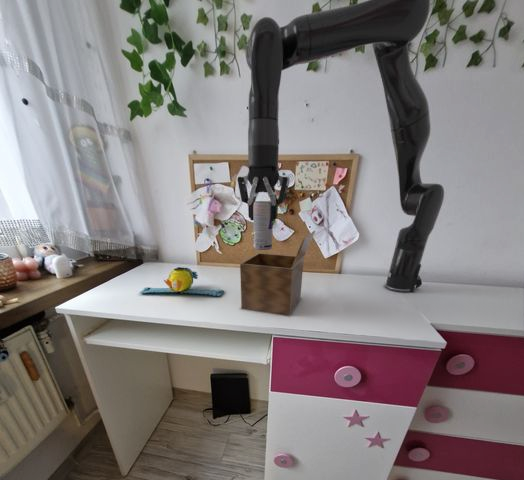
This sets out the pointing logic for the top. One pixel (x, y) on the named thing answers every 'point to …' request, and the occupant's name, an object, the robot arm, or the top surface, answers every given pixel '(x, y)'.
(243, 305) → the brown wooden open box
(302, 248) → the flap
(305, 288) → the top surface
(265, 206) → the energy drink
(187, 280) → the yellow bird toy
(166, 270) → the top surface
